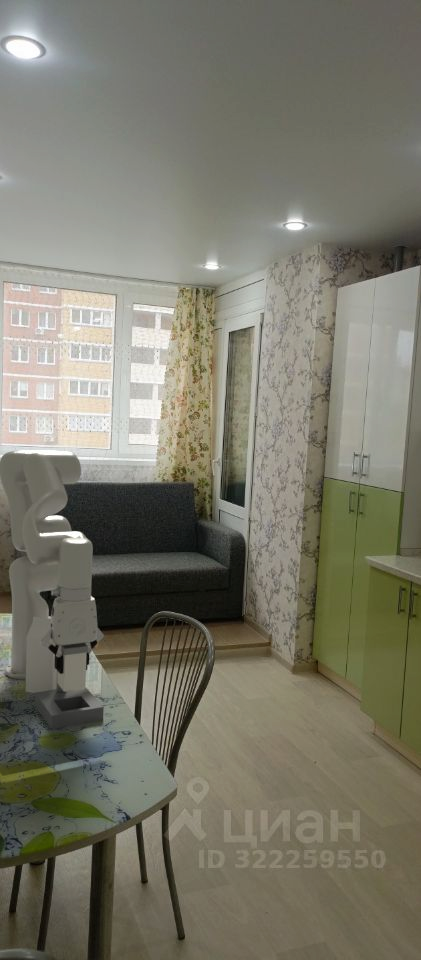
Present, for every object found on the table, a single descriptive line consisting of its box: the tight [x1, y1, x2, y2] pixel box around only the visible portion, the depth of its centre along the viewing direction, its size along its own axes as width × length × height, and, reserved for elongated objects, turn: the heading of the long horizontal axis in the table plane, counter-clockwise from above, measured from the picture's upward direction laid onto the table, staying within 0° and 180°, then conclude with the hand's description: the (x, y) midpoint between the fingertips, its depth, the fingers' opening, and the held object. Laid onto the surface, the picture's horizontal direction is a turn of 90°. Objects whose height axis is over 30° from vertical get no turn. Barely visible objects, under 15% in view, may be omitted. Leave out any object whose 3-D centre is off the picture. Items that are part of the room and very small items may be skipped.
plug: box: [57, 643, 88, 691], centre depth 162 cm, size 5×5×10 cm
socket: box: [34, 686, 104, 730], centre depth 165 cm, size 14×12×4 cm
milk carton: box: [25, 617, 57, 694], centre depth 177 cm, size 7×7×19 cm
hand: (71, 669), depth 162 cm, fingers closed on plug, 5 cm apart
